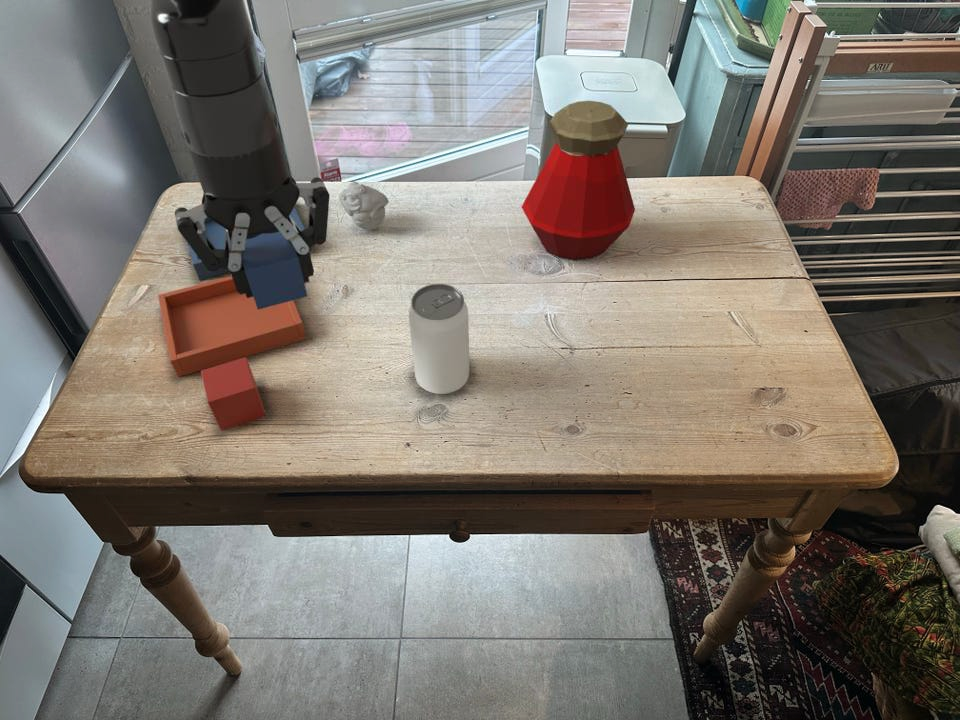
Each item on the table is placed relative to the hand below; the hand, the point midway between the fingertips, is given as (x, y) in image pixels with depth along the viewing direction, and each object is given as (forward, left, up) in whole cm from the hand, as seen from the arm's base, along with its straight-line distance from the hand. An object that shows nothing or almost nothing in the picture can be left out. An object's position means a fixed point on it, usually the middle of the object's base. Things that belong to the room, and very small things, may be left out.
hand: (276, 284), depth 69 cm
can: (+15, -5, -15) cm, 22 cm away
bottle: (+42, +11, -15) cm, 46 cm away
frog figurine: (+16, +27, -15) cm, 35 cm away
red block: (-8, 0, -15) cm, 17 cm away
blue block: (0, 0, 0) cm, 0 cm away
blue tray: (-1, +31, -15) cm, 34 cm away
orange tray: (-6, +14, -15) cm, 21 cm away
